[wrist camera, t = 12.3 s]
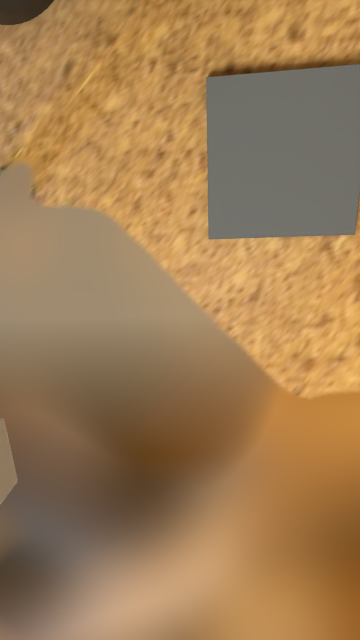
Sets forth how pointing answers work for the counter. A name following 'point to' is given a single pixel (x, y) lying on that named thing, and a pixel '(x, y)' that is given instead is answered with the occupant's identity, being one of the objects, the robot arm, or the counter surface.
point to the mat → (284, 153)
